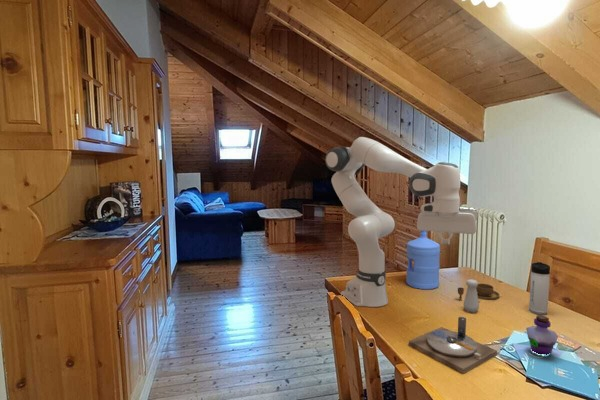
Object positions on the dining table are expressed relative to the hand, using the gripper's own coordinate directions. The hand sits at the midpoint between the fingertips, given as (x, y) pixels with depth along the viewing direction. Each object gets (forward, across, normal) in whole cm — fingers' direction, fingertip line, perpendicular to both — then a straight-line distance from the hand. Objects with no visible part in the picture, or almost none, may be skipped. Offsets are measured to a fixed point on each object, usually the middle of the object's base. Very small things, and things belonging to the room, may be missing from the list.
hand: (445, 243), depth 132 cm
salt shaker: (+31, -9, -18) cm, 37 cm away
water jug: (+31, +14, -43) cm, 55 cm away
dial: (+29, -4, +19) cm, 35 cm away
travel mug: (+31, -34, -28) cm, 54 cm away
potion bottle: (+31, -30, +8) cm, 44 cm away
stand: (+31, -4, +19) cm, 36 cm away
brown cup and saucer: (+32, -10, -38) cm, 50 cm away
